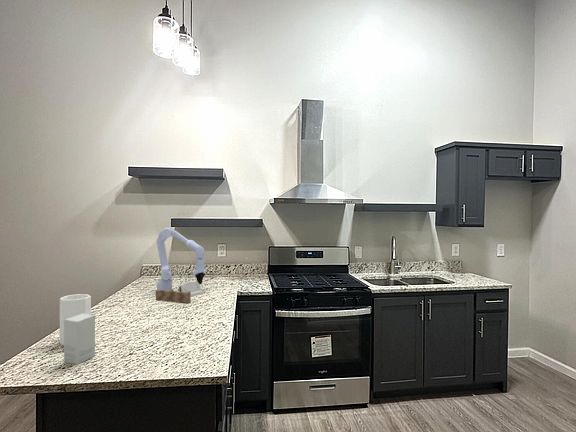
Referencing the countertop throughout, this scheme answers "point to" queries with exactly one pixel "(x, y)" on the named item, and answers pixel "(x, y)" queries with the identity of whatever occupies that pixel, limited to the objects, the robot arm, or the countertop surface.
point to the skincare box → (79, 338)
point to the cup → (73, 309)
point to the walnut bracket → (173, 296)
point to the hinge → (191, 288)
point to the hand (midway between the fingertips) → (199, 284)
